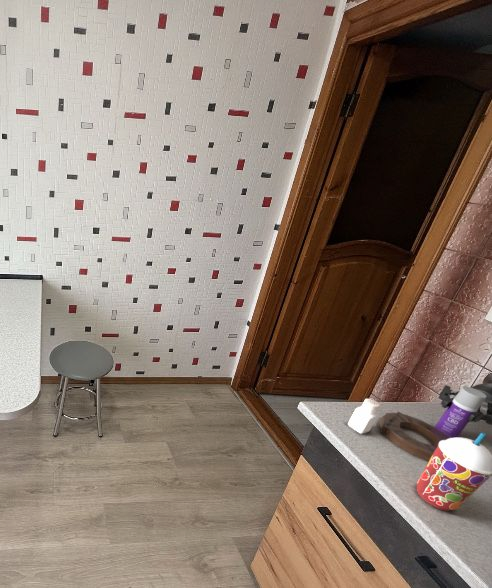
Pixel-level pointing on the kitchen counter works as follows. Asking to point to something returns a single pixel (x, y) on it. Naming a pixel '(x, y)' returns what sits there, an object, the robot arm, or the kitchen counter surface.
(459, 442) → the smoothie
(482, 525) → the kitchen counter surface
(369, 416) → the pepper shaker
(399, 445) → the collar
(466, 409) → the container
